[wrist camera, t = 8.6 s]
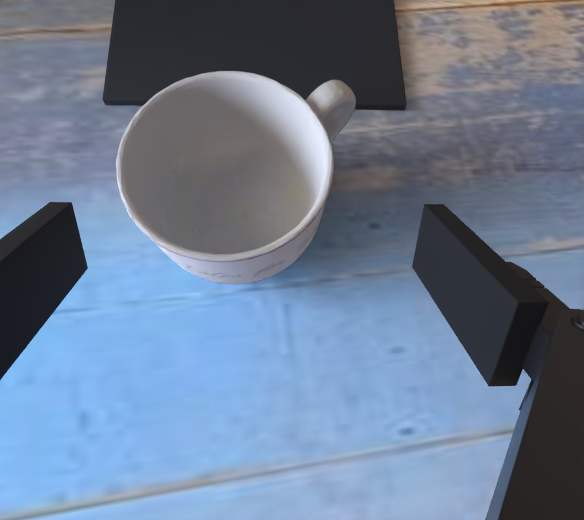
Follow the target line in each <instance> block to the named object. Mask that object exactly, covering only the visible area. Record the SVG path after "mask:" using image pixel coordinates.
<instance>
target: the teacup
mask: <svg viewBox="0 0 584 520" xmlns="http://www.w3.org/2000/svg"><path fill="white" fill-rule="evenodd" d="M355 102H356V99H355V95H354V93H353V91H352V90H351V89H350V88H349V87H348V86H347V85H346V84H345V83H343V82H342V81H339V80H330V81H328V82H325V83H323V84H322V85H320V86H319V87H318V88H316V89H315V90H314V91H313V92H312V93H311V94H310V95H309V97H308V98H307V99H306V100H304V99H303V98H302V97H301V96H300V95H298V94H297V93H296V92H294V91H293V90H291V89H290V88H288V87H286V86H284V85H281V84H280V83H278V82H277V81H275V80H272V79H270V78H268V77H265V76H262V75H258V74H254V73H247V72H241V71H217V72H209V73H204V74H199V75H196V76H193V77H189V78H185V79H183V80H180V81H178V82H176V83H174V84H172V85H170V86H168V87H167V88H165V89H163V90H162V91H160V92H158V93H157V94H155V95H154V96H153V97H152V98H151V99H150V100H149V101H148V102H146V103H145V104H144V105H143V106H142V107H141V109H140V110H139V111H138V112H137V113H136V115H135V116H134V117H133V119H132V120H131V122H130V123H129V125H128V127H127V129H126V130H125V132H124V134H123V137H122V140H121V143H120V146H119V150H118V155H117V165H116V170H117V182H118V186H119V190H120V195H121V198H122V200H123V203H124V205H125V207H126V210H127V211H128V213H129V215H130V217H131V218H132V220H133V221H134V222H135V224H136V225H137V226H138V227H139V228H140V229H141V231H142V232H143V233H144V234H145V235H146V236H147V237H149V238H150V239H151V240H152V241H154V242H155V243H156V244H157V245H158V246H159V247H160V248H161V249H162V250H163V251H164V252H165V253H166V254H167V255H168V256H169V257H170V258H171V259H172V260H173V261H174V262H175V263H177V264H178V265H179V266H181V267H182V268H184V269H185V270H187V271H188V272H190V273H192V274H194V275H196V276H198V277H201V278H203V279H206V280H209V281H212V282H217V283H224V284H246V283H252V282H256V281H260V280H263V279H266V278H269V277H271V276H273V275H275V274H277V273H279V272H281V271H282V270H284V269H286V268H287V267H288V266H290V265H291V264H292V263H293V262H295V261H296V260H297V259H298V258H299V257H300V255H301V254H302V253H303V252H304V251H305V250H306V248H307V247H308V245H309V244H310V242H311V241H312V239H313V237H314V235H315V233H316V230H317V228H318V226H319V223H320V220H321V217H322V213H323V209H324V205H325V202H326V200H327V198H328V194H329V191H330V188H331V184H332V180H333V174H334V155H333V148H332V144H331V141H332V140H333V139H334V138H335V137H336V136H337V135H338V134H339V133H340V131H341V130H342V129H343V128H344V127H345V125H346V124H347V122H348V121H349V119H350V118H351V116H352V114H353V111H354V109H355Z"/></svg>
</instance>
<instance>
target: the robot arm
mask: <svg viewBox="0 0 584 520" xmlns="http://www.w3.org/2000/svg"><path fill="white" fill-rule="evenodd" d="M412 267H413V269H414V270H415V272H416V274H417V275H418V277H419V278H420V280H421V281H422V283H423V285H424V286H425V288H426V289H427V291H428V292H429V294H430V295H431V297H432V299H433V300H434V302H435V303H436V305H437V306H438V308H439V309H440V311H441V313H442V314H443V316H444V317H445V319H446V320H447V322H448V323H449V325H450V327H451V328H452V330H453V331H454V333H455V334H456V336H457V337H458V339H459V341H460V342H461V344H462V345H463V347H464V348H465V350H466V351H467V353H468V355H469V356H470V358H471V359H472V361H473V362H474V364H475V365H476V367H477V369H478V370H479V372H480V373H481V375H482V376H483V378H484V379H485V381H486V383H487V384H488V386H516V385H517V382H518V379H519V377H520V374H521V372H522V369H524V370H525V372H526V373H527V374H528V375H529V377H530V378H531V379H532V380H531V382H530V384H529V387H528V389H527V392H526V394H525V396H524V399H523V401H522V404H521V406H520V408H519V410H521V411H520V414H519V417H518V420H517V423H516V426H515V429H514V432H513V436H512V439H511V442H510V445H509V448H508V451H507V454H506V457H505V460H504V463H503V467H502V470H501V473H500V476H499V479H498V482H497V485H496V488H495V491H494V494H493V498H492V501H491V504H490V507H489V510H488V513H487V516H486V519H485V520H584V310H580V309H569V308H568V307H567V306H566V305H565V304H564V303H563V302H562V301H560V300H559V299H558V298H557V297H556V296H555V295H554V294H553V293H551V292H550V291H549V290H548V289H547V288H544V285H542V284H541V283H540V282H539V281H536V278H534V277H533V276H532V275H531V274H530V273H529V272H528V271H527V270H525V269H523V268H521V267H520V266H518V265H516V264H514V263H512V262H505V261H504V260H503V259H502V258H501V257H500V256H499V255H498V254H497V253H496V252H494V251H493V250H492V249H491V248H490V247H489V246H488V245H487V244H486V243H485V242H484V241H483V240H481V239H480V238H479V237H478V236H477V235H476V234H475V233H474V232H473V231H472V230H471V229H470V228H469V227H467V226H466V225H465V224H464V223H463V222H462V221H461V220H460V219H459V218H458V217H457V216H456V215H455V214H453V213H452V212H451V211H450V210H449V209H448V208H447V207H446V206H445V205H444V204H424V208H423V213H422V218H421V223H420V228H419V234H418V239H417V244H416V249H415V254H414V260H413V265H412ZM87 269H88V267H87V263H86V259H85V255H84V251H83V247H82V243H81V238H80V234H79V230H78V226H77V222H76V218H75V214H74V210H73V206H72V202H50V203H48V204H47V205H46V206H44V207H43V208H42V209H40V210H39V211H38V212H36V213H35V214H34V215H32V216H31V217H30V218H28V219H27V220H26V221H24V222H23V223H21V224H20V225H19V226H17V227H16V228H15V229H13V230H12V231H11V232H9V233H8V234H7V235H5V236H4V237H3V238H1V239H0V380H1V378H2V377H3V376H4V374H5V373H6V372H7V371H8V369H9V368H10V367H11V366H12V364H13V363H14V362H15V360H16V359H17V358H18V357H19V355H20V354H21V353H22V352H23V350H24V349H25V348H26V346H27V345H28V344H29V343H30V341H31V340H32V339H33V337H34V336H35V335H36V334H37V332H38V331H39V330H40V329H41V327H42V326H43V325H44V323H45V322H46V321H47V320H48V318H49V317H50V316H51V315H52V313H53V312H54V311H55V309H56V308H57V307H58V306H59V304H60V303H61V302H62V300H63V299H64V298H65V297H66V295H67V294H68V293H69V292H70V290H71V289H72V288H73V286H74V285H75V284H76V283H77V281H78V280H79V279H80V278H81V276H82V275H83V274H84V272H85V271H86V270H87Z"/></svg>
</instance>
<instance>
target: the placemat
mask: <svg viewBox="0 0 584 520" xmlns="http://www.w3.org/2000/svg"><path fill="white" fill-rule="evenodd" d="M217 71H241V72H247V73H254V74H258V75H262V76H265V77H268V78H270V79H272V80H275V81H277V82H278V83H280V84H281V85H284V86H286V87H288V88H290V89H291V90H293V91H294V92H296V93H297V94H298V95H300V96H301V97H302V98H303V99H304V100H306V99H307V98H308V97H309V95H310V94H311V93H312V92H313V91H314V90H315V89H316V88H318V87H319V86H320V85H322V84H323V83H325V82H328V81H330V80H339V81H342V82H343V83H345V84H346V85H347V86H348V87H349V88H350V89H351V90H352V91H353V93H354V95H355V99H356V102H355V109H374V110H404V109H405V107H406V97H405V89H404V81H403V73H402V64H401V56H400V48H399V40H398V31H397V23H396V15H395V7H394V0H115V8H114V15H113V23H112V31H111V39H110V46H109V54H108V62H107V70H106V77H105V85H104V93H103V101H104V103H105V104H106V105H144V104H145V103H146V102H148V101H149V100H150V99H151V98H152V97H153V96H154V95H155V94H157V93H158V92H160V91H162V90H163V89H165V88H167V87H168V86H170V85H172V84H174V83H176V82H178V81H180V80H183V79H185V78H189V77H193V76H196V75H199V74H204V73H209V72H217Z"/></svg>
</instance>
